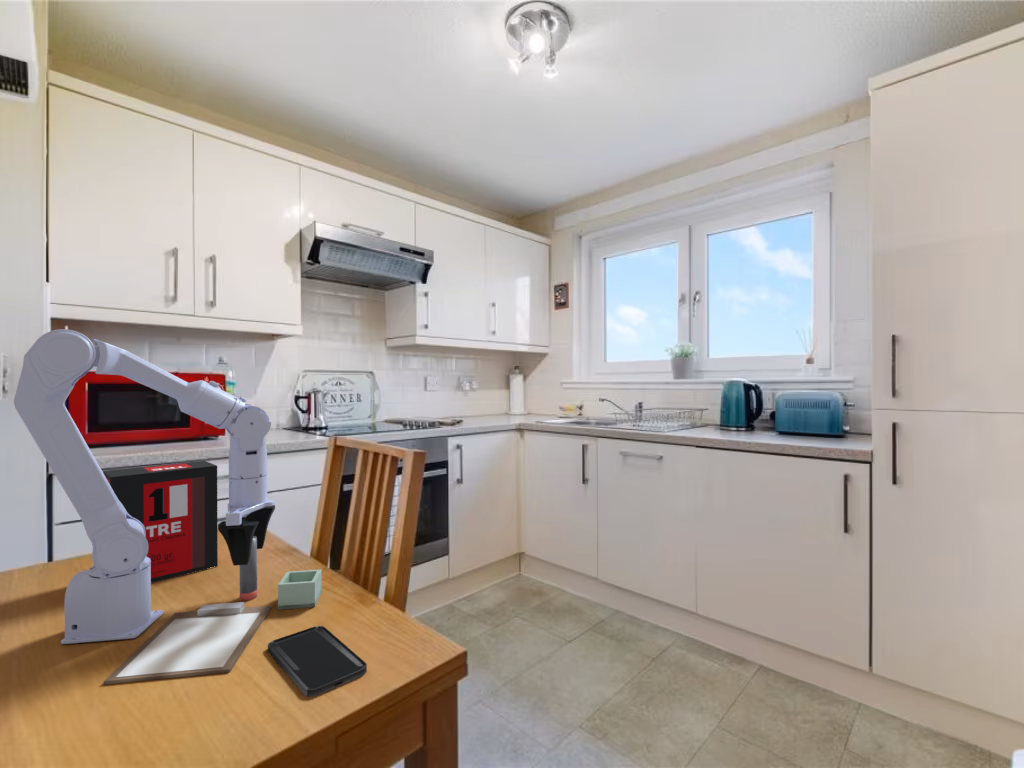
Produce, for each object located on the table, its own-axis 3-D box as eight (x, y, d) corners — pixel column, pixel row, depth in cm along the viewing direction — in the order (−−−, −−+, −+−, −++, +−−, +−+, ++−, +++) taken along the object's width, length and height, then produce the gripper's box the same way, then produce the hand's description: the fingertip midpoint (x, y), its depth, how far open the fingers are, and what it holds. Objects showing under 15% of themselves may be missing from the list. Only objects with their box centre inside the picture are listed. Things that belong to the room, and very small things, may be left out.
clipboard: (103, 684, 60) (103, 672, 60) (175, 615, 78) (175, 606, 78) (229, 672, 63) (229, 661, 63) (271, 608, 80) (271, 599, 80)
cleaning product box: (110, 592, 86) (110, 477, 86) (103, 578, 93) (103, 470, 93) (217, 566, 98) (217, 465, 98) (204, 555, 105) (204, 460, 104)
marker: (237, 601, 83) (237, 541, 83) (242, 594, 85) (242, 536, 85) (254, 600, 83) (254, 540, 83) (259, 593, 86) (258, 535, 86)
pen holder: (277, 609, 80) (277, 584, 80) (287, 594, 85) (287, 571, 85) (314, 606, 81) (314, 582, 81) (321, 592, 86) (321, 569, 86)
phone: (321, 624, 74) (370, 666, 63) (321, 631, 74) (370, 675, 63) (264, 643, 68) (307, 693, 57) (264, 651, 68) (307, 702, 57)
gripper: (260, 483, 78) (260, 570, 78) (284, 467, 92) (285, 540, 92) (210, 485, 77) (211, 573, 77) (243, 469, 91) (244, 543, 91)
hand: (248, 556), depth 84 cm, fingers open, 7 cm apart
